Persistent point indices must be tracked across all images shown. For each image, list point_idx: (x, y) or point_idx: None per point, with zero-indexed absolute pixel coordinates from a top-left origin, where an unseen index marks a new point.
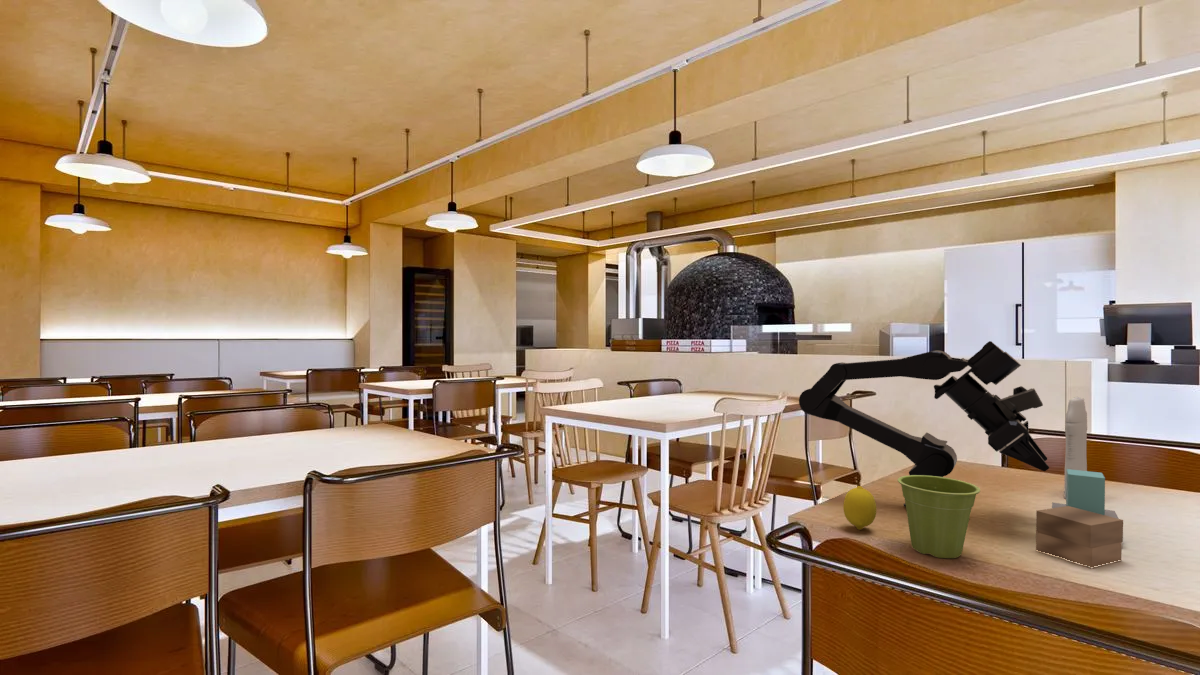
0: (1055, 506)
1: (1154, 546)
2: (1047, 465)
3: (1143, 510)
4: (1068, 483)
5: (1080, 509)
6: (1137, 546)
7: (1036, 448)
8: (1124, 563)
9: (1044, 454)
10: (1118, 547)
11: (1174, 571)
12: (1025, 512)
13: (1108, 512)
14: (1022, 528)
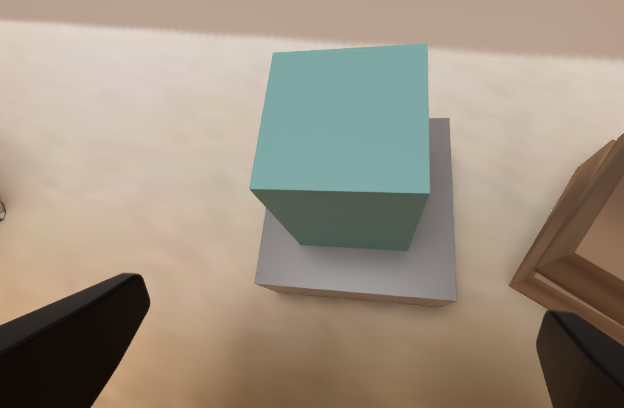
0: (316, 279)
1: None
2: (592, 325)
3: (64, 86)
4: (422, 212)
5: (612, 210)
6: None
7: (44, 353)
8: None
9: (106, 289)
10: None
11: (575, 80)
12: (175, 355)
13: None
14: (393, 396)
